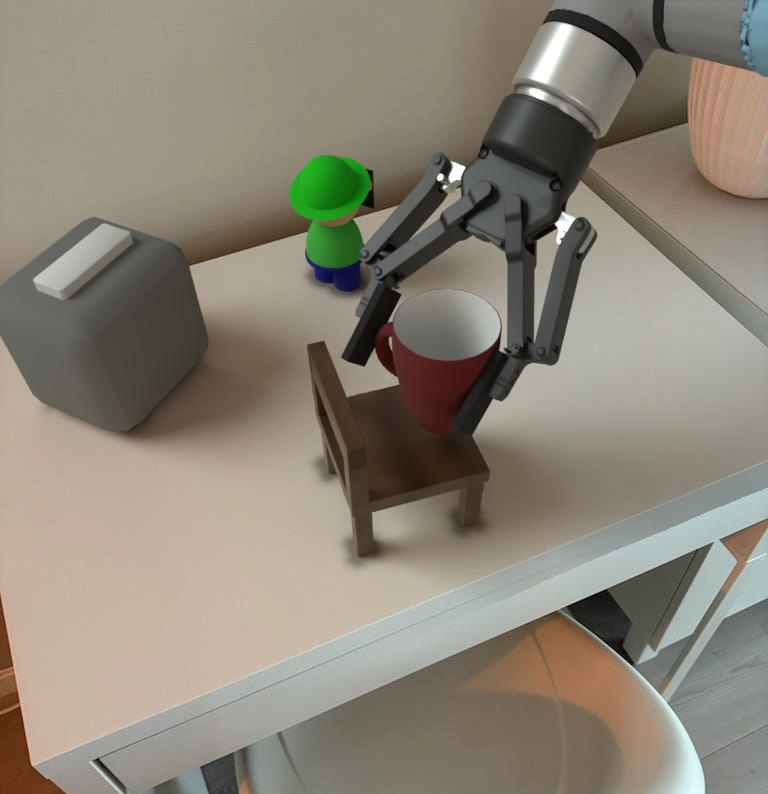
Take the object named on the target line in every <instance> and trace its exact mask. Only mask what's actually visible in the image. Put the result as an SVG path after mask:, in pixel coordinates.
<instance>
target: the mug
mask: <svg viewBox="0 0 768 794" xmlns="http://www.w3.org/2000/svg"><path fill="white" fill-rule="evenodd" d="M502 330H503V324H502V318H501V316H500V314H499V312H498V311H497V309H496V308H495V307H494V306H493V305H492V304H491V303H490V302H489V301H488V300H486V299H484V298H483V297H482V296H480V295H477V294H475V293H472V292H470V291H466V290H461V289H455V288H435V289H429V290H426V291H425V290H424V291H422V292H419V293H417V294H414V295H412V296H411V297H408V298H407V299H406V300H404V302H402V303H401V304H400V305H399V306H398V307H397V309H396V311H395V313H394V315H393V318H392V321H388V323H386V324H385V325H383V326H382V327H381V328H380V329H379V330H378V332H377V334H376V336H375V341H374V346H375V348H374V351H375V355H376V357H377V359H378V361H379V362H380V364H381V365H382V367H383V368H384V369H385V370H386V371H387V372H388V373H390V374H391V375H393V376H394V377H395V378H397V382H398V385H399V386H400V390H401V394H402V398H403V401H404V403H405V406H406V407H407V409H408V411H409V412H410V414H411V415H412V416H413V417H414V419H415V420H416V421H417V422H418V423H419V424H420V426H421V427H423V428H424V429H425V430H427V431H429V432H431V433H435V434H448V433H452V432H454V431H455V430H453V429H451V428H450V427H451V425H452V424H453V422H454V420H455V418H456V416H457V415H458V413H459V411H460V409H461V408H462V406H463V404H464V402H465V400H466V399H467V397H468V395H469V393H470V392H471V390H472V388H473V386H474V384H475V383H476V381H477V379H478V377H479V376H480V374H481V372H482V370H483V368H484V367H485V365H486V363H487V361H488V360H489V358H490V356H491V354H492V352H493V351H494V349H497V350H499V351H500V349H501V341H502V332H503V331H502ZM390 338H391V345H390Z"/></svg>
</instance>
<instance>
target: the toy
mask: <svg viewBox="0 0 768 794" xmlns="http://www.w3.org/2000/svg"><path fill="white" fill-rule="evenodd" d="M374 188H375V186H374V170H372V169H369V168H366V167H365V166H364V165H363V164H362V163H360V161H357V160H355V159H352V158H349V157H345V156H336V155H332V154H321V155H317V156H316V157H314V158H312V159H310V160H309V161H308V162H307V163H306V164H305V165H304V167H303V169H302V170H300V171H299V172H298V173H297V175H296V176H295V177H294V179H293V180H292V182H291V184H290V187H289V193H288V194H289V195H288V197H289V198H288V199H289V202H290V205H291V206H292V208H293V210H294V211H295V212H296V213H297V214H299V215H300V216H301V217H303V218H305V219H308V220H312V221H311V224H310V225H309V228H308V231H307V234H306V241H305V249H304V255H305V260H306V262H307V264H308V265H309V266H311V267H312V268H313V271H314V278H315V279H316V280H317V281H319V282H320V283H325V284H330V283H333V286H334V288H335V289H337V290H338V291H341V292H353V291H356V290H357V289H359V288H360V287H361V285H362V272H361V270H362V269H361V268H362V267H361V264H362V263H363V262H362V261H360V259H359V252H360V250H361V249H362V248H363V246H364V245H365V243H364V240H363V236H362V232H361V230H360V228H359V226H358V224H357V223H356V221H355V220H354V217H355V216H356V215H357V214H358V211H359V210H360V206H363V207H367V208H370V209H373V210H375V189H374Z"/></svg>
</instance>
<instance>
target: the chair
mask: <svg viewBox="0 0 768 794" xmlns="http://www.w3.org/2000/svg"><path fill="white" fill-rule="evenodd" d="M306 350H307V358H308V365H309V373H310V381H311V388H312V398H313V403H314V404H313V405H314V411H315V417H316V420H317V423H318V426H319V427H320V428H319V429H320V433H321V442H322V450H323V458H324V464H325V467H326V470H327V473H328V474H329V475H330V474H334V473H336V476H337V479H338V481H339V484H340V488H341V491H342V492H343V495H344V498H345V500H346V503H347V506H348V509H349V512H350V520H351V530H352V541H353V542H352V543H353V546H354V549H355V552H356V555H357V557H358V558H360V557H364V556H367V555H371V554H374V553H375V545H374V526H373V525H374V523H373V513H377V512H380V511H383V510H387V509H391V508H394V507H399V506H402V505H405V504H409V503H414V502H417V501H420V500H425V499H429V498H433V497H437V496H439V495H443V494H447V493H452V492H455V491H458V490H459V499H458V508H457V509H458V510H457V518H458V521H459V522H460V525H461V526H462V528H463V529H466V528H468V527H469V528H470V527H473V526H477V525H479V522H480V521H479V520H480V516H481V508H482V502H483V501H482V500H483V494H484V488H485V483H488V482H489V481H490V474H491V469H490V467H489V465H488V463H487V461H486V459H485V458H484V456H483V454H482V452H481V450H480V448H479V446H478V444H477V442H476V440H475V439H474V437H473V435H467V434H462V433H458V432H456V431H454V432H452V433H448V434H435V433H431V432H429V431H427V430H425V429H424V428H423V427H421V426H420V424H419V423H418V422H417V421H416V420H415V419H414V417H413V416H412V415H411V414H410V412H409V411H408V409H407V407H406V406H405V403H404V401H403V398H402V394H401V390H400V386H399V384H395V385H391V386H387V387H382V388H379V389H374V390H370V391H366V392H362V393H358V394H353V395H349V396H347V394H346V392H345V391H346V390H345V389H344V387H343V384H342V381H341V378H340V376H339V374H338V372H337V370H336V366H335V365H334V362H333V359H332V357H331V354H330V351H329V349H328V347H327V344H326V342H325V340H320V341H316V342H311V343H307V344H306Z"/></svg>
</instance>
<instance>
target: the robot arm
mask: <svg viewBox="0 0 768 794" xmlns="http://www.w3.org/2000/svg"><path fill="white" fill-rule="evenodd" d="M655 50H662V51H666V52H670V53H673V54H676V55H683V56H688V57H690V58H695V59H700V60H704V61H707V62H713V63H717V64H720V65H725V66H729V67H733V68H736V69H741V70H745V71H749V72H752V73H754V74H755V73H756V74H758V75H759V76H760V77H763V78H768V0H554V1H553V3H552V5H551V8H550V10H549V12H548V13H547V15H546V16H545V18H544V20H543V21H542V24H541V25H540V27H539V29H538V31H537V33H536V35H535V36H534V39H533V40H532V42H531V44H530V45H529V48H528V50H527V52H526V53H525V55H524V57H523V59H522V61H521V63H520V65H519V67H518V69H517V71H516V73H515V75H514V76H513V78H512V81H511V87H512V93H510V94H508V95H505V96H504V98H503V99H502V101H501V103H500V104H499V106H498V109H497V111H496V112H495V114H494V116H493V119H492V120H491V122H490V124H489V126H488V128H487V130H486V132H485V134H484V136H483V138H482V141H481V145H480V148H479V152H478V154H477V156H475V158H474V159H473V160H472V161H471V162H470V163H468V165H466V166H465V165H462V164H459V163H457V162H455V161H453V160H451V159H450V158H449V157H448V156H447V155H446V154H445V153H443V152H442V151H437V152H435V153H434V154H433V155H432V156H431V159H430V161H429V162H428V165H427V166H426V169H425V171H424V173H423V175H422V177H421V179H420V180H419V182H418V183H417V184H416V185H415V186H414V187H413V189H412V190H411V191H410V192H409V193H408V194H407V196H405V198H404V199H403V200H402V201H401V202H400V204H398V206H397V207H396V208H395V209H394V210H393V212H392V213H391V214H390V215H389V216H388V217H387V219H386V220H385V221H384V222H383V223H382V224H381V226H379V228H378V229H377V230H376V231H375V233H374V234H372V235H371V237H370V238H369V239H368V240H367V242H366V243H364V246H363V248H362V249H361V250H360V252H359V259H360V261H362V263H363V264H364V265H365V266H366V268H367V269H368V270H369V273H370V279H369V283H368V285H367V286H366V288H365V290H364V292H363V295H362V296H361V298H360V301H359V302H358V305H357V306H356V309H355V317H358V319H359V320H358V322H357V324H356V326H355V328H354V329H353V332H352V334H351V336H350V338H349V340H348V342H347V344H346V346H345V348H344V350H343V352H342V355H341V356H340V359H342V360H343V361H345V362H347V363H351V364H353V365H357V366H361V367H364V368H365V367H366V365H367V364H368V361H369V360H370V358H371V356H372V354H373V352H374V351H375V346H374V341H375V336H376V334H377V332H378V330H379V329H380V328H381V327H382V326H383V325H385V324H386V323H388V322H390V319H391V317H392V315H393V313H394V311H395V309H396V307H397V305H398V303H399V301H400V299H401V297H402V296H403V294H402V293H400V292H398V291H396V290H399V289H401V287H400V285H399V284H401V283H402V282H403V281H405V280H406V279H407V278H410V276H412V275H414V274H415V273H416V272H417V271H419V270H421V269H422V268H423V267H424V266H426V265H428V264H429V263H431V262H432V261H433V260H435V259H436V258H437V257H439V256H440V255H442V254H443V253H445V252H446V251H447V250H449V249H451V248H452V247H453V246H455V245H456V244H457V243H459V242H462V241H463V242H464V241H466V240H468V239H470V238H472V237H475V238H476V239H478V240H480V241H481V242H484V243H489V244H493V245H494V246H495V247H496V248H498V250H500V251H501V252H504V254H505V259H506V262H507V280H506V281H507V283H506V284H507V287H506V288H507V290H506V291H507V292H506V297H507V298H506V299H507V300H506V301H507V303H506V305H507V307H506V309H507V311H506V316H507V317H506V347H505V346H504V347H503V351H501V350H500V349H499V350H497V349H494V351H493V352H492V354H491V356H490V358H489V360H488V361H487V363H486V365H485V367H484V368H483V370H482V372H481V374H480V376H479V377H478V379H477V381H476V383H475V384H474V386H473V388H472V390H471V392H470V393H469V395H468V397H467V399H466V400H465V402H464V404H463V406H462V408H461V409H460V411H459V413H458V415H457V416H456V418H455V420H454V422H453V424H452V425H451V427H450V428H451V429H453V430H455V431H456V432H458V433H462V434H467V435H472V436H473V435H474V434H475V432H476V429H477V428H478V426H479V424H480V423H481V421H482V419H483V417H484V416H485V414H486V413H487V410H488V409H489V407H490V405H491V403H492V402H493V400H495V401H499V402H503V401H505V400H506V399H507V398H508V397H509V395H510V393H511V392H512V390H513V388H514V387H515V385H516V383H517V382H518V380H519V378H520V376H521V374H522V373H523V371H524V369H525V368H526V367H527V366H529V365H530V364H539V365H546V366H548V367H549V366H550V367H552V366H554V365H556V364H557V363H558V362H559V360H560V357H561V352H562V349H563V344H564V340H565V335H566V332H567V327H568V323H569V320H570V315H571V311H572V307H573V302H574V298H575V294H576V290H577V286H578V282H579V278H580V275H581V274H580V273H581V269H582V266H583V262H584V260H585V259H586V257H587V256H588V254H589V252H590V251H591V249H592V247H593V245H594V244H595V242H596V241H597V238H598V232H597V230H596V229H595V227H594V226H593V225H592V223H591V222H590V221H589V220H588V219H587V218H586V217H584V216H579V217H575V216H573V215H572V214H569V213H567V205H568V201H569V199H570V197H571V196H572V194H573V193H574V192H575V191H576V189H577V188H578V186H579V184H580V182H581V180H582V178H583V176H584V175H585V173H586V172H587V169H588V167H589V166H590V164H591V162H592V161H593V159H594V157H595V155H596V153H597V151H598V148H597V139H600V138H603V137H605V136H606V134H607V133H608V131H609V129H610V128H611V126H612V124H613V122H614V120H615V119H616V117H617V115H618V114H619V111H620V110H621V108H622V106H623V104H624V102H625V101H626V99H627V97H628V95H629V93H630V91H631V89H632V88H633V86H634V85H635V82H636V81H637V79H638V78H639V76H640V74H641V72H642V71H643V69H644V68H645V66H646V64H647V63H648V61H649V59H650V57H651V55H652V54H653V52H654V51H655ZM459 186H460V195H461V196H460V198H459V199H457V200H456V201H455V202H453V203H452V204H451V205H449V206H448V207H446V208H445V209H444V210H443V211H442V212H441V213H440V215H439V218H438V219H436V220H435V221H434V222H432V223H431V224H429V225H427V226H426V228H424V229H423V230H421V231H420V232H418V231H419V230H420V229H421V228H422V227H423V225H424V224H426V223H427V221H428V220H429V219H430V218H431V216H432V215H433V214H434V213H435V212H437V209H439V207H440V206H441V205H442V204H443V202H445V200H446V198H447V197H448V195H449V194H452V193H455V192H456V191H457V187H459ZM556 230H557V235H556V244H557V245H558V247H557V250H556V252H555V256H554V259H553V264H552V268H551V272H550V277H549V281H548V285H547V289H546V293H545V297H544V302H543V305H542V310H541V313H540V318H539V323H538V326H537V331H536V334H535V282H536V281H535V280H536V279H535V273H536V268H537V266H538V264H537V263H538V241H539V240H541V239H542V238H544V237H546V236H548V235H549V234H551V233H553V232H555V231H556ZM417 232H418V233H417ZM416 233H417V234H416ZM535 335H536V336H535Z"/></svg>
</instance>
